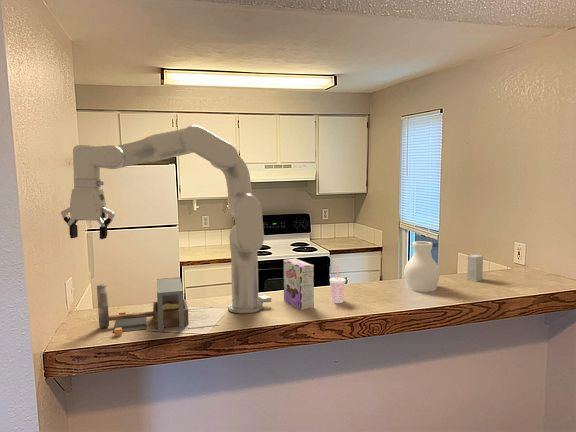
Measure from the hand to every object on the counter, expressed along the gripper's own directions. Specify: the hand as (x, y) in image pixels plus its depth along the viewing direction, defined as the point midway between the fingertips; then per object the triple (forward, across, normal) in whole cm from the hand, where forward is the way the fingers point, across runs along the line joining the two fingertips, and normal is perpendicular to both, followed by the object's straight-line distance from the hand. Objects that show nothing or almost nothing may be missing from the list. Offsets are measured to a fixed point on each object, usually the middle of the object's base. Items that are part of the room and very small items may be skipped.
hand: (88, 238), depth 140 cm
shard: (+30, -24, -8) cm, 39 cm away
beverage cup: (+27, -81, -30) cm, 91 cm away
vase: (+26, -117, -49) cm, 129 cm away
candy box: (+28, -66, -27) cm, 77 cm away
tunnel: (+29, -24, -7) cm, 38 cm away
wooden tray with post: (+29, -24, -7) cm, 38 cm away
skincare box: (+25, -143, -62) cm, 158 cm away
